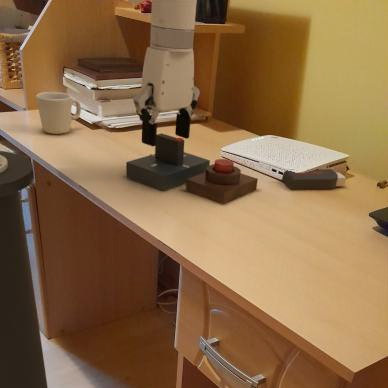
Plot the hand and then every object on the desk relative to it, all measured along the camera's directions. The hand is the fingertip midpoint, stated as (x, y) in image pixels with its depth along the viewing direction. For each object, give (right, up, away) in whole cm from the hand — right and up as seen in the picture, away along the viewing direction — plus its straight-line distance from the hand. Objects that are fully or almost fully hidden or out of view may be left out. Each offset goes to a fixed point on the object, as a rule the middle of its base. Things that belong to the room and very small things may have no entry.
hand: (165, 140), depth 101 cm
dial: (0, -3, +3) cm, 4 cm away
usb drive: (+30, -7, +6) cm, 31 cm away
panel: (0, -5, +4) cm, 7 cm away
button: (+11, -7, -2) cm, 13 cm away
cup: (-27, +12, +25) cm, 39 cm away
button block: (+11, -10, 0) cm, 15 cm away
